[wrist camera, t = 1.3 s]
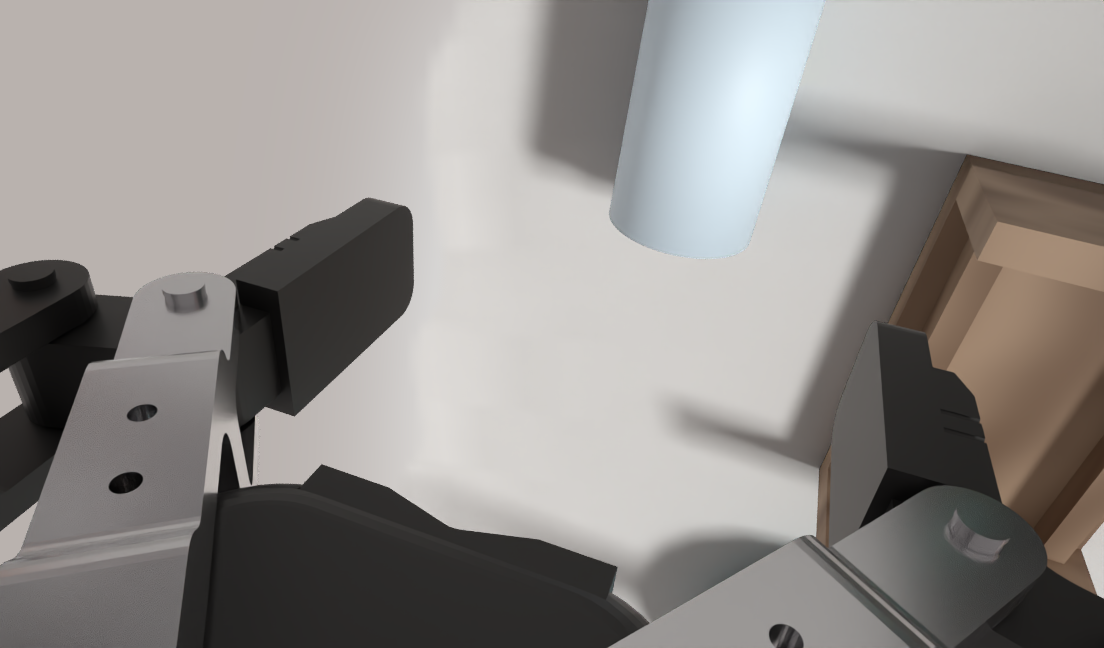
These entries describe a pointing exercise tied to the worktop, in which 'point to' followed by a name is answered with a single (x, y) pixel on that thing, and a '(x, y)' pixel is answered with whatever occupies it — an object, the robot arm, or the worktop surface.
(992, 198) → the roll cradle
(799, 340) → the worktop surface
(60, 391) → the robot arm
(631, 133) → the paper roll
